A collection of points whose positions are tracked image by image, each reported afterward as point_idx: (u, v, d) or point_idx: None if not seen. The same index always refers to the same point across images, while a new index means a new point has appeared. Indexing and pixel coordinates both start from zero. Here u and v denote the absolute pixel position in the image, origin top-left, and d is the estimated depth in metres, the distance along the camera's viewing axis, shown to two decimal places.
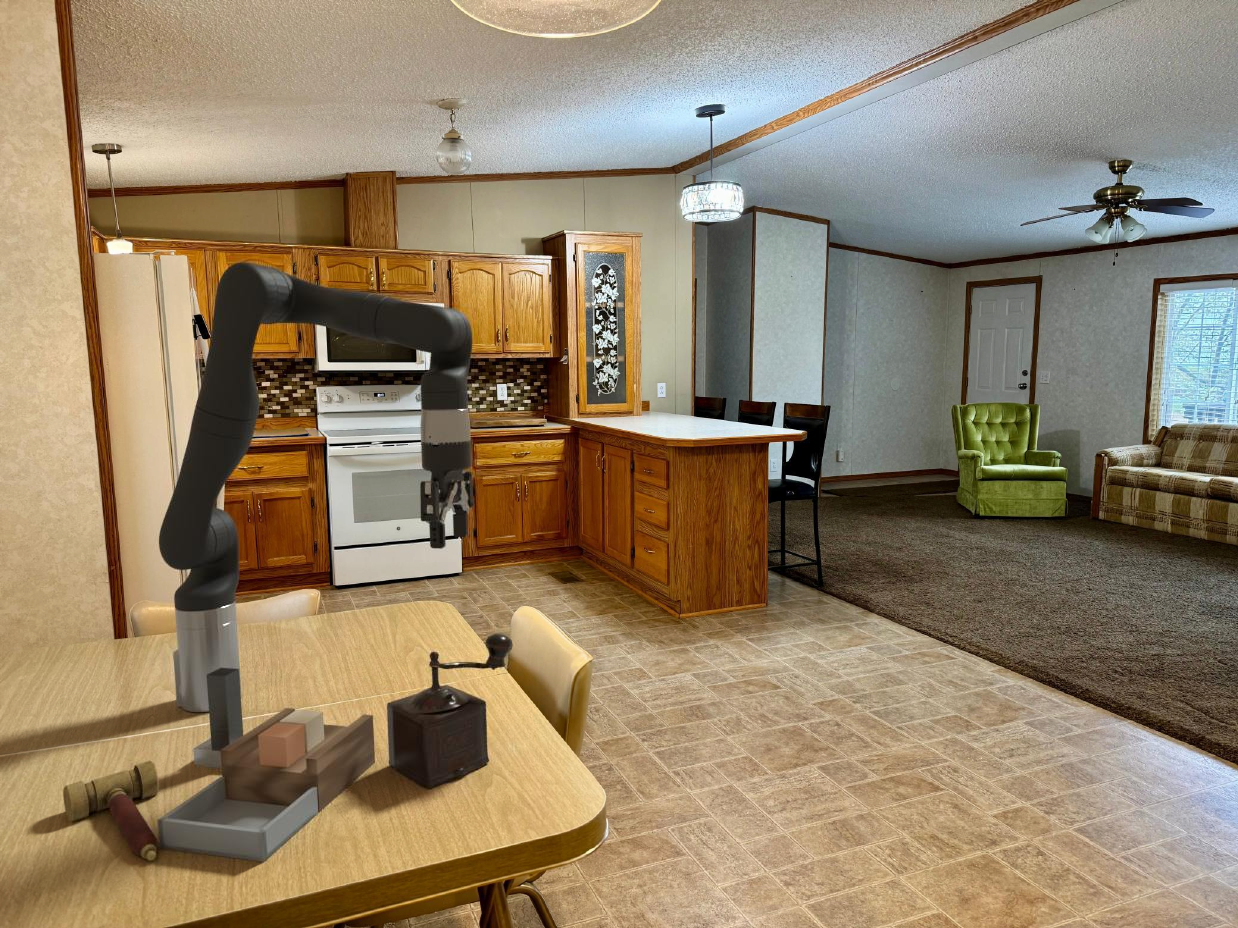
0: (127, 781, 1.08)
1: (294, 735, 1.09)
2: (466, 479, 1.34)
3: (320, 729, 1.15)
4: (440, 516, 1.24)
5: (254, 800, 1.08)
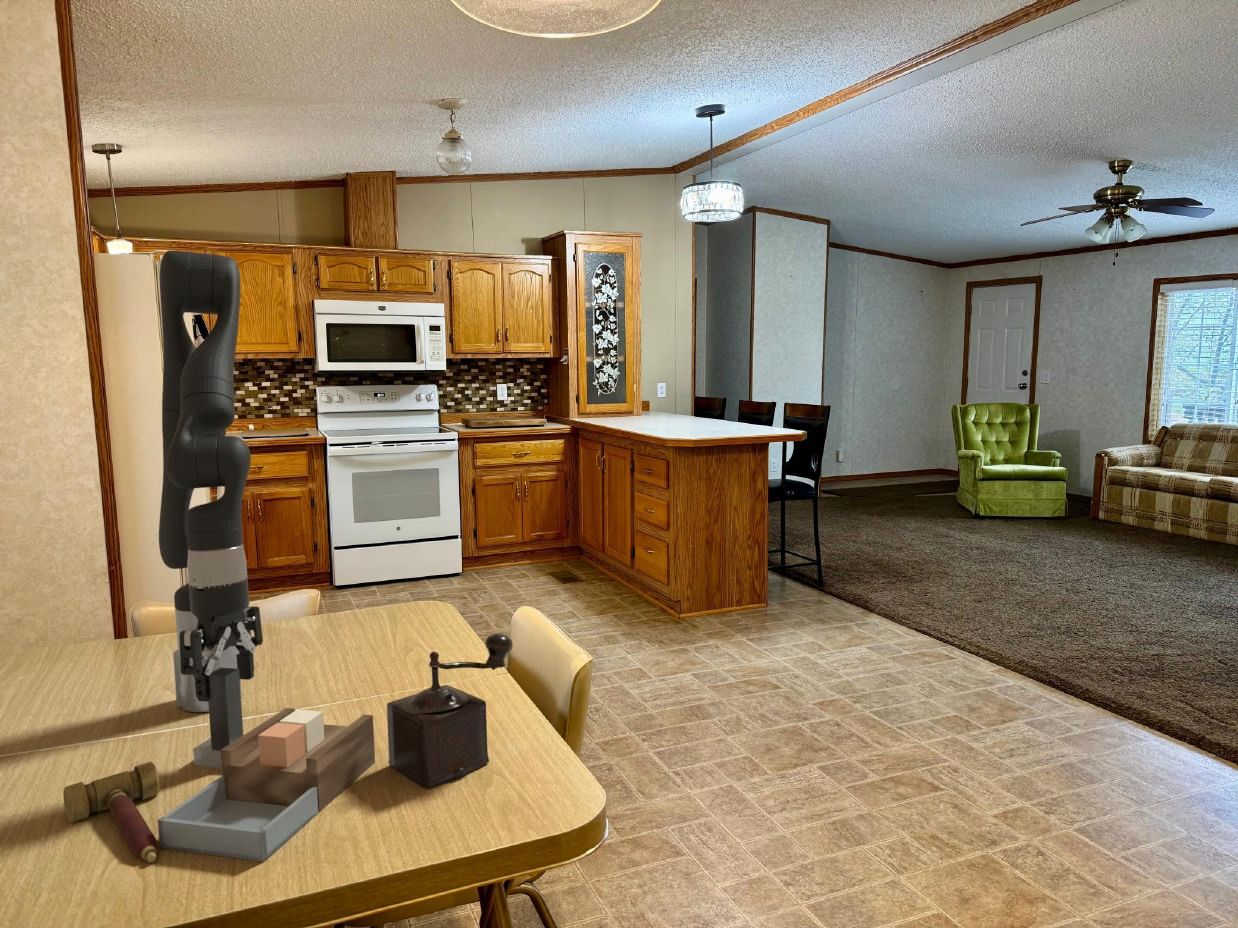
0: (127, 782, 1.08)
1: (294, 735, 1.09)
2: (251, 615, 1.24)
3: (320, 729, 1.15)
4: (205, 667, 1.13)
5: (254, 800, 1.08)
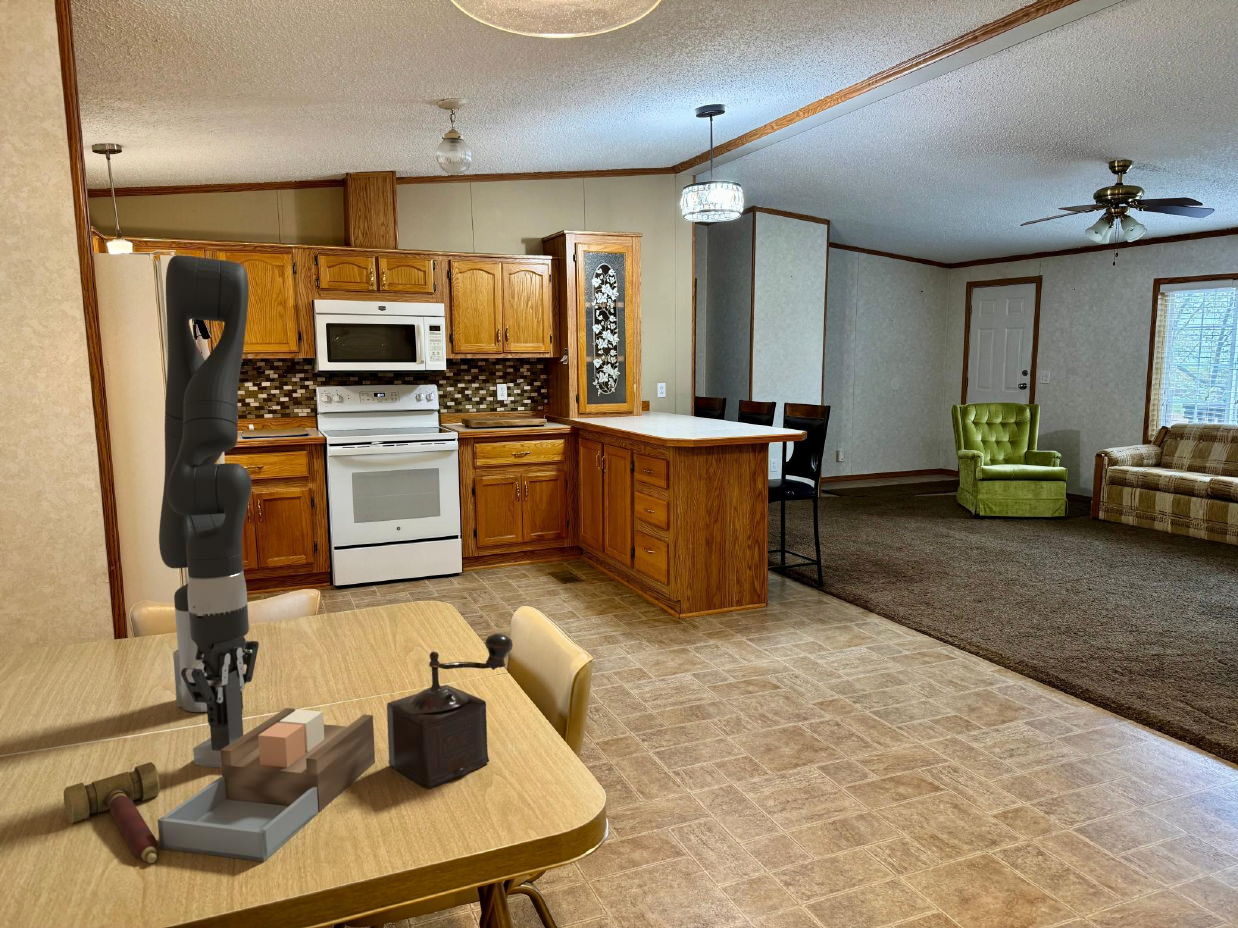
0: (127, 783, 1.08)
1: (294, 735, 1.09)
2: (249, 648, 1.24)
3: (320, 729, 1.15)
4: None
5: (254, 800, 1.08)
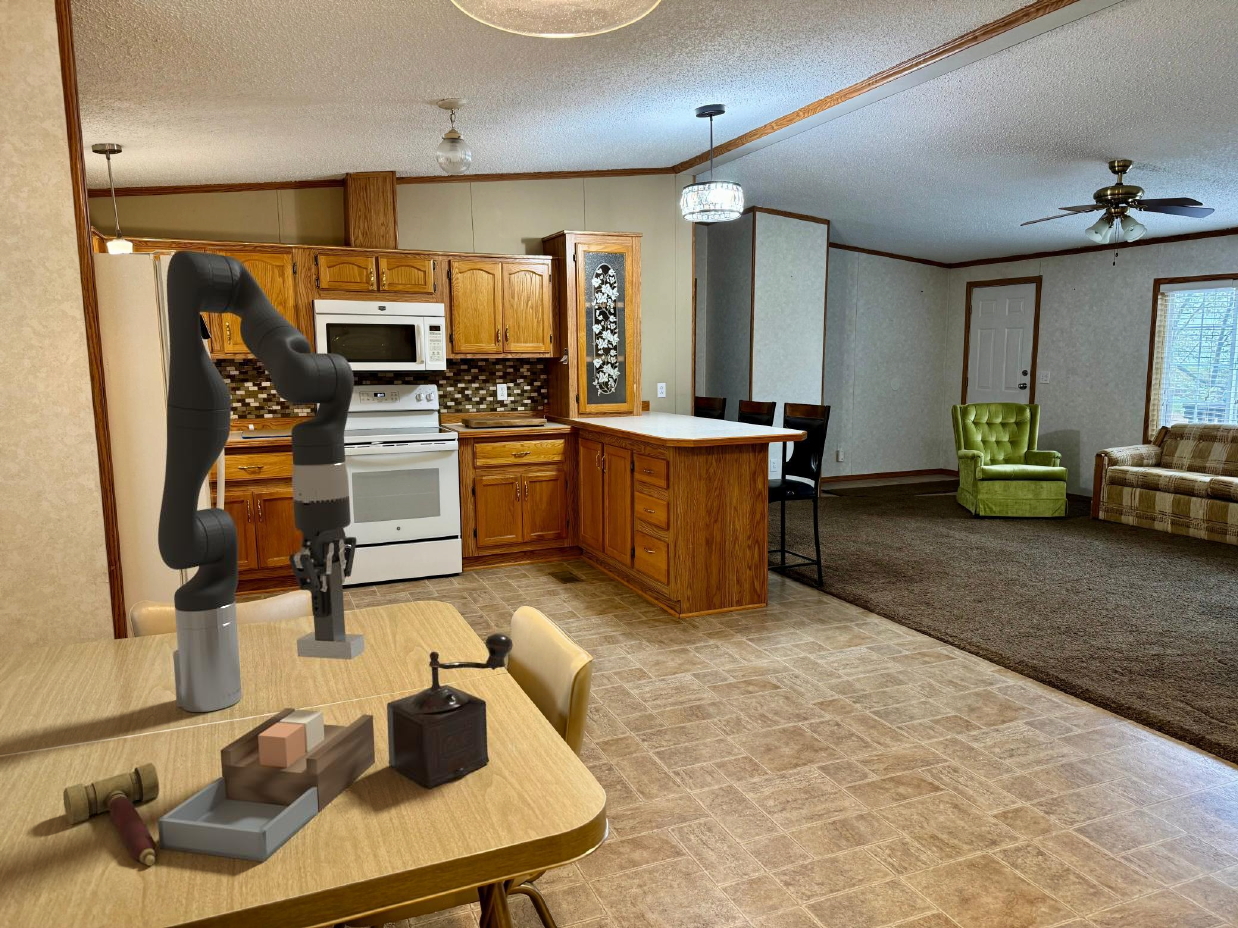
0: (127, 784, 1.08)
1: (294, 735, 1.09)
2: (348, 544, 1.24)
3: (320, 729, 1.15)
4: None
5: (254, 800, 1.08)
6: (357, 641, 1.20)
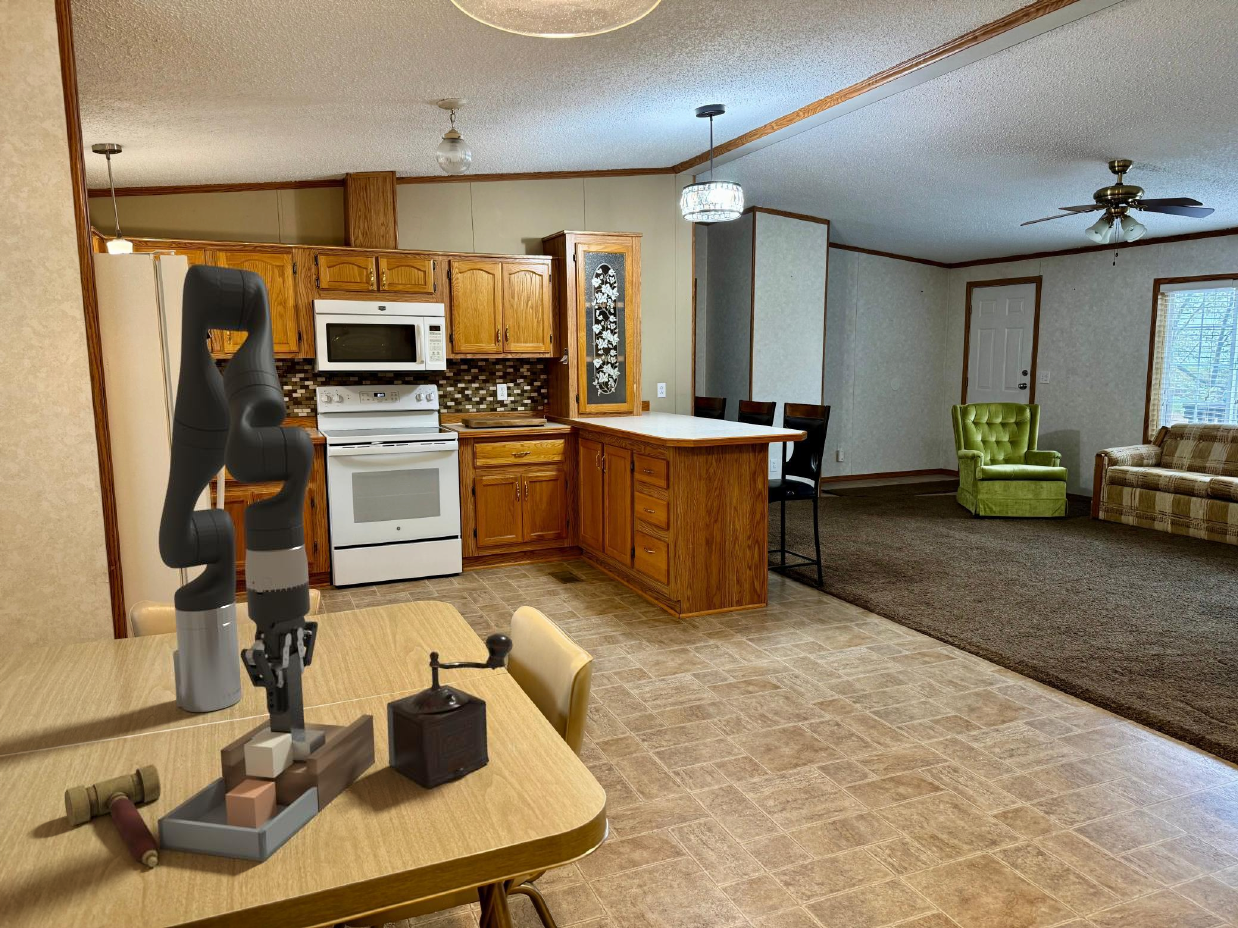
0: (128, 785, 1.07)
1: (258, 812, 1.01)
2: (309, 629, 1.14)
3: (288, 753, 1.08)
4: None
5: None
6: (317, 739, 1.10)
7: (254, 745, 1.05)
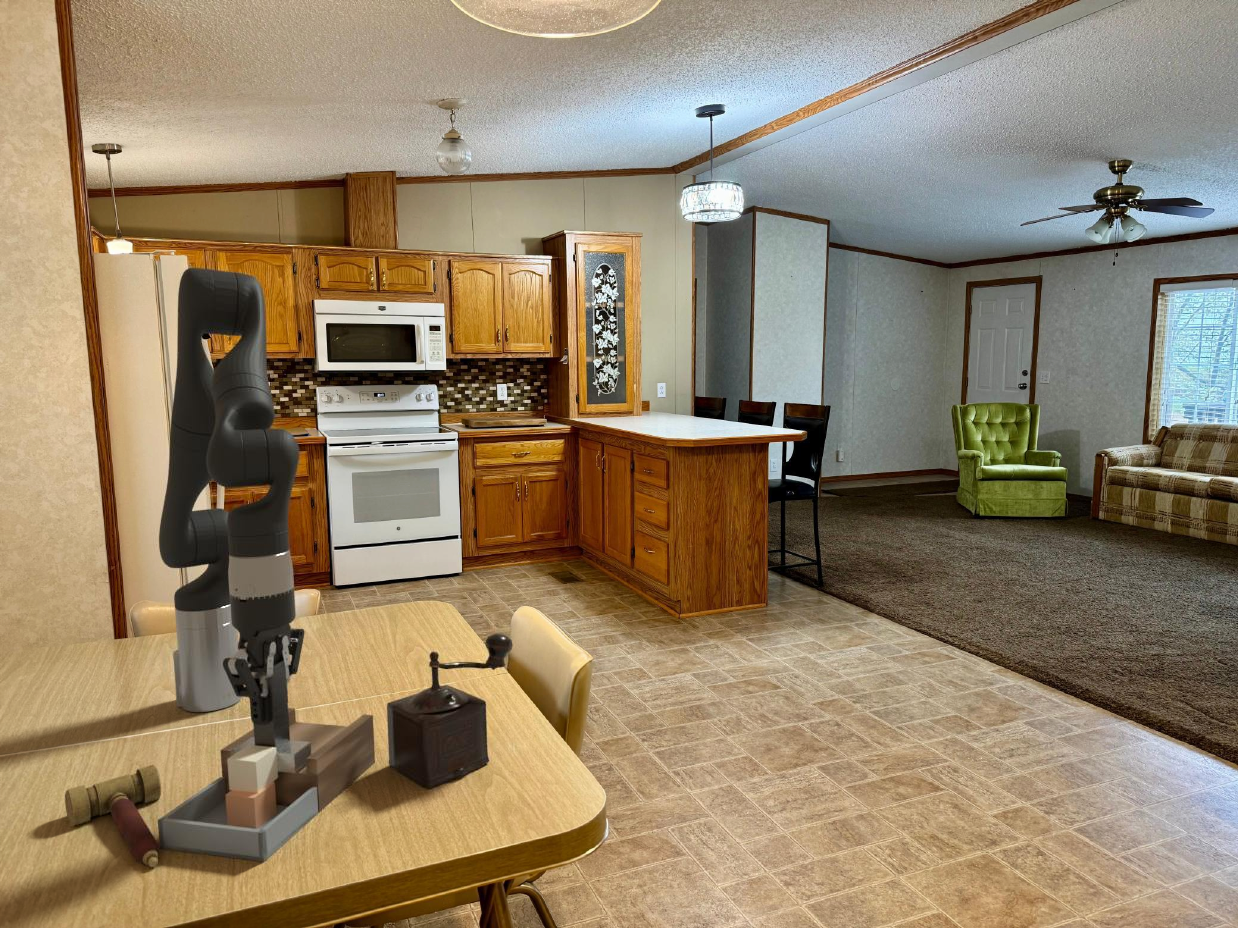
0: (129, 786, 1.07)
1: (257, 812, 1.01)
2: (295, 637, 1.11)
3: (273, 767, 1.05)
4: None
5: None
6: (302, 751, 1.07)
7: (237, 759, 1.02)
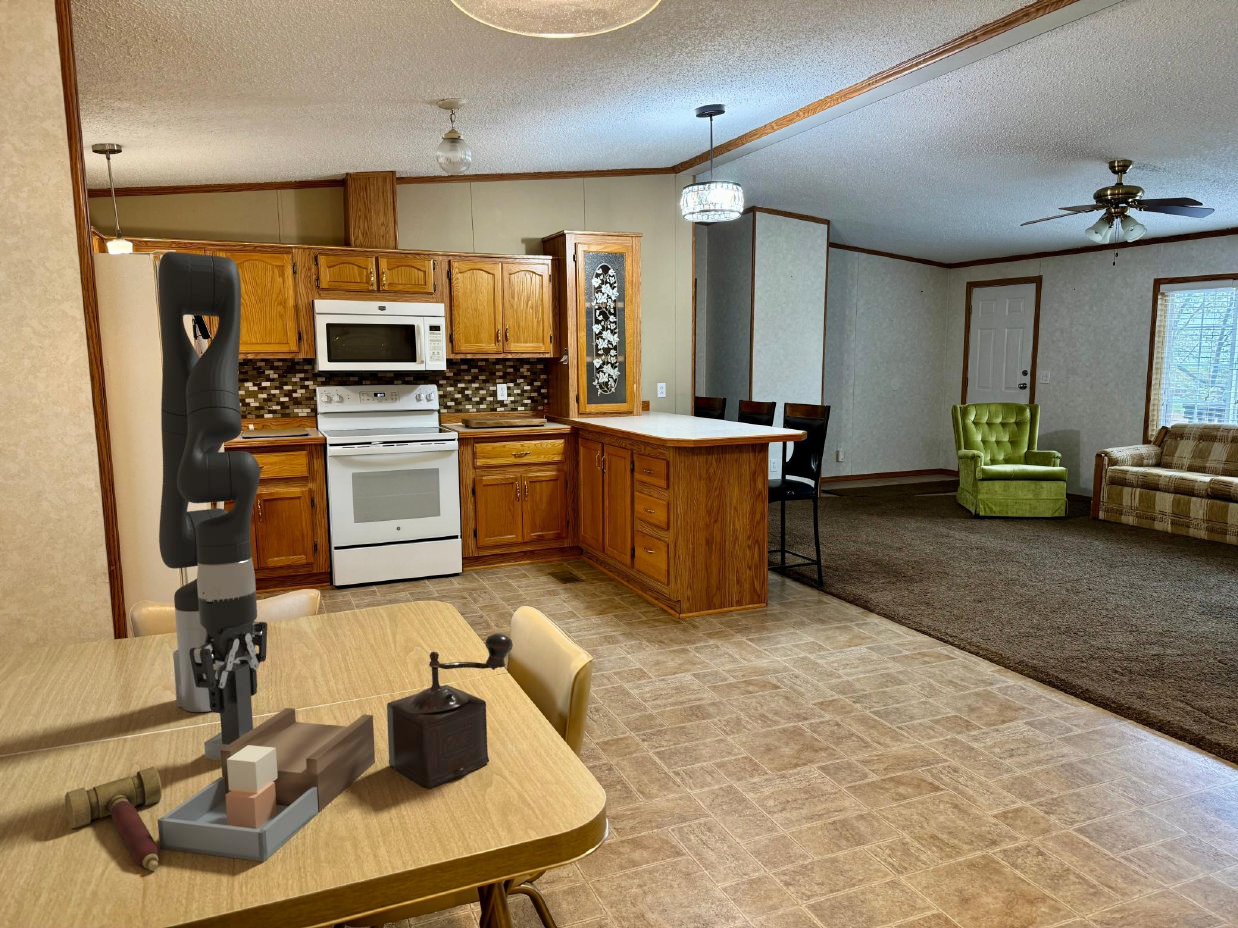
0: (129, 788, 1.07)
1: (257, 812, 1.01)
2: (259, 630, 1.26)
3: (272, 767, 1.05)
4: (219, 680, 1.17)
5: None
6: None
7: (237, 759, 1.02)
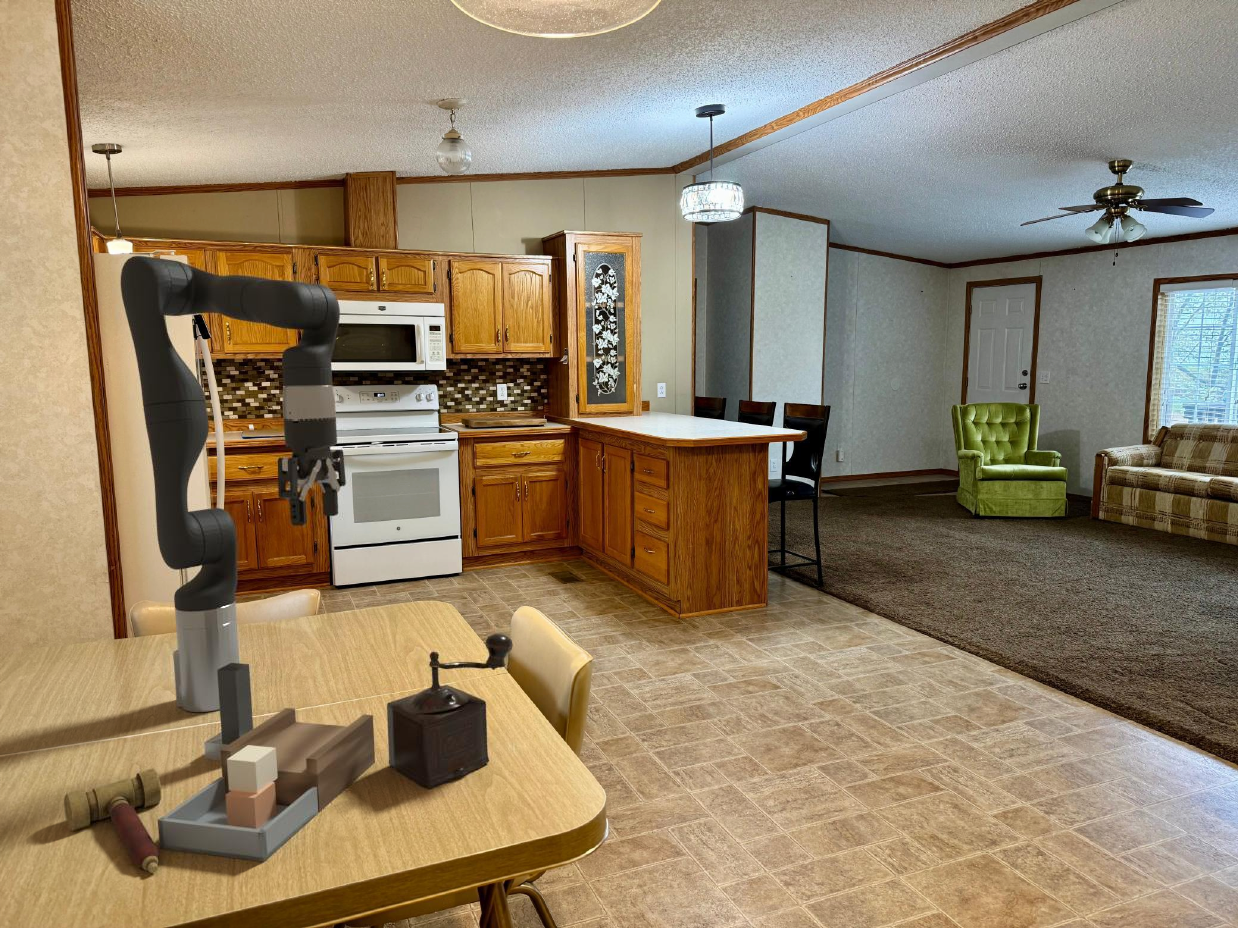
0: (129, 790, 1.06)
1: (257, 812, 1.01)
2: (336, 457, 1.33)
3: (272, 767, 1.05)
4: (300, 493, 1.23)
5: None
6: None
7: (237, 759, 1.02)
